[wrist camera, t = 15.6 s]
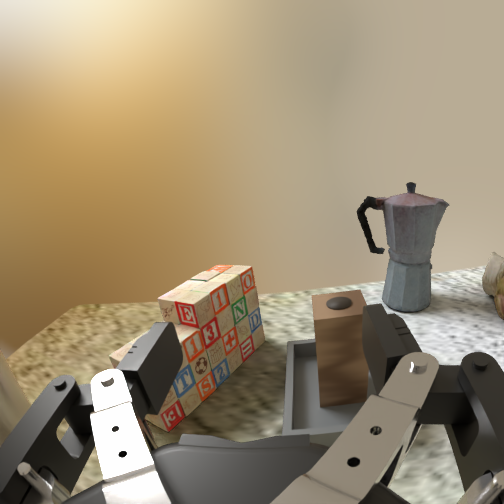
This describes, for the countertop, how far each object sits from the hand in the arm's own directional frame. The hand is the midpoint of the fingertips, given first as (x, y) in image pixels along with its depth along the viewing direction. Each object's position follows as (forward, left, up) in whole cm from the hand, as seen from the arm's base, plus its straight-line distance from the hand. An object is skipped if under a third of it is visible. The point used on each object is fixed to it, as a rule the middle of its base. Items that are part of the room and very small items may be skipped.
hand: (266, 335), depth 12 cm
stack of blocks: (-12, +20, -19) cm, 31 cm away
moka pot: (+19, +35, -19) cm, 44 cm away
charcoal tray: (+5, +15, -19) cm, 24 cm away
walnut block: (+5, +15, -18) cm, 24 cm away
